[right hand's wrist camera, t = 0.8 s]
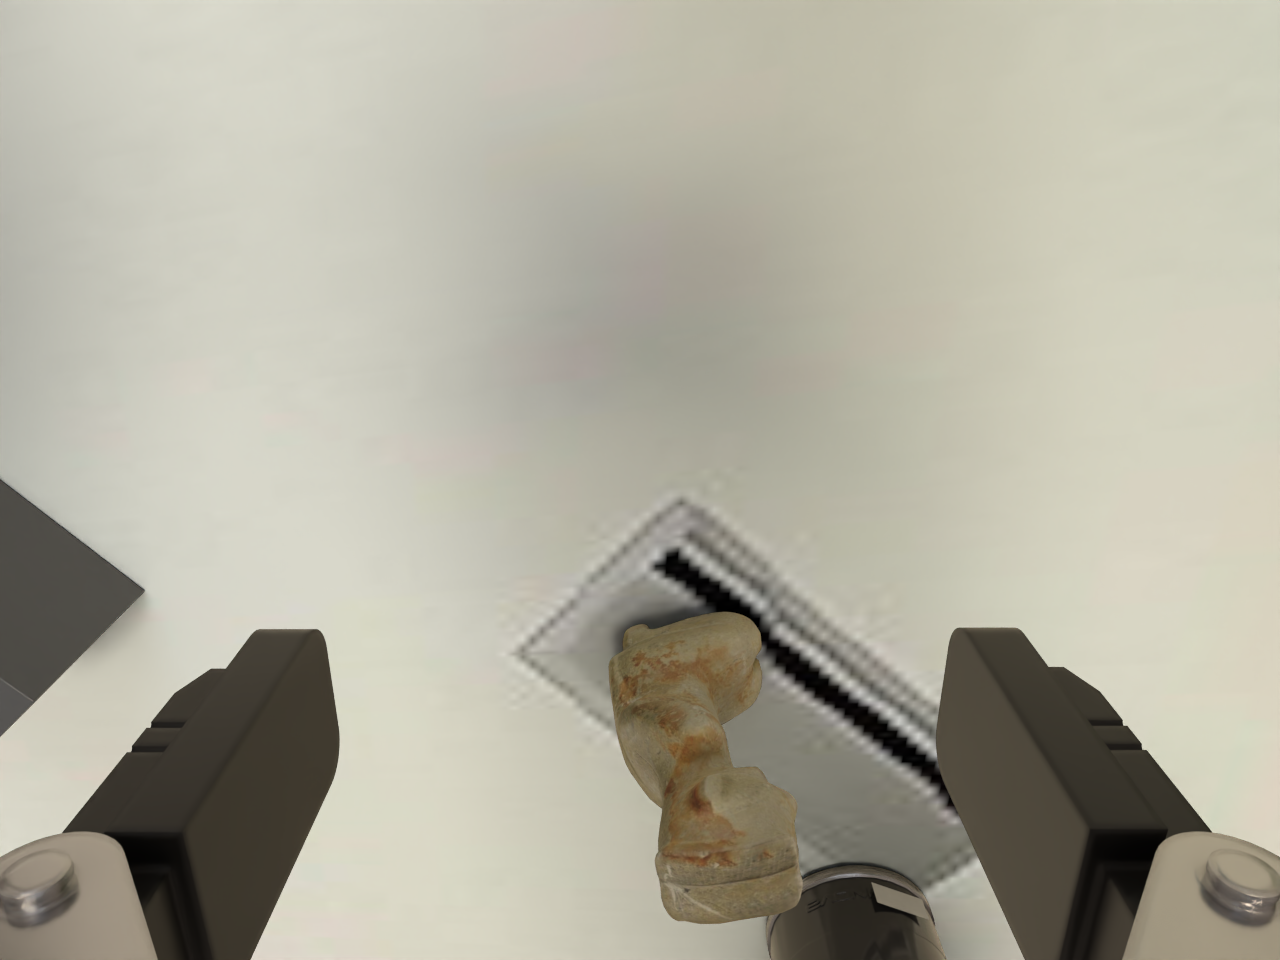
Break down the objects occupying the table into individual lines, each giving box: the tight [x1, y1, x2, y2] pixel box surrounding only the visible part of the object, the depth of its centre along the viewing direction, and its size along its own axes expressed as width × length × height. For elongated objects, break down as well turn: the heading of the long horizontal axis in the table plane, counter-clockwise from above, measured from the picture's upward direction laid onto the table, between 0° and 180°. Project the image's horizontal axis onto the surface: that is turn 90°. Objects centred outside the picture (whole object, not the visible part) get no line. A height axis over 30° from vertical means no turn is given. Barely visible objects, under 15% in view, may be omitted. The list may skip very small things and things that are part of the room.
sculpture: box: [609, 612, 803, 924], centre depth 38 cm, size 6×7×15 cm
